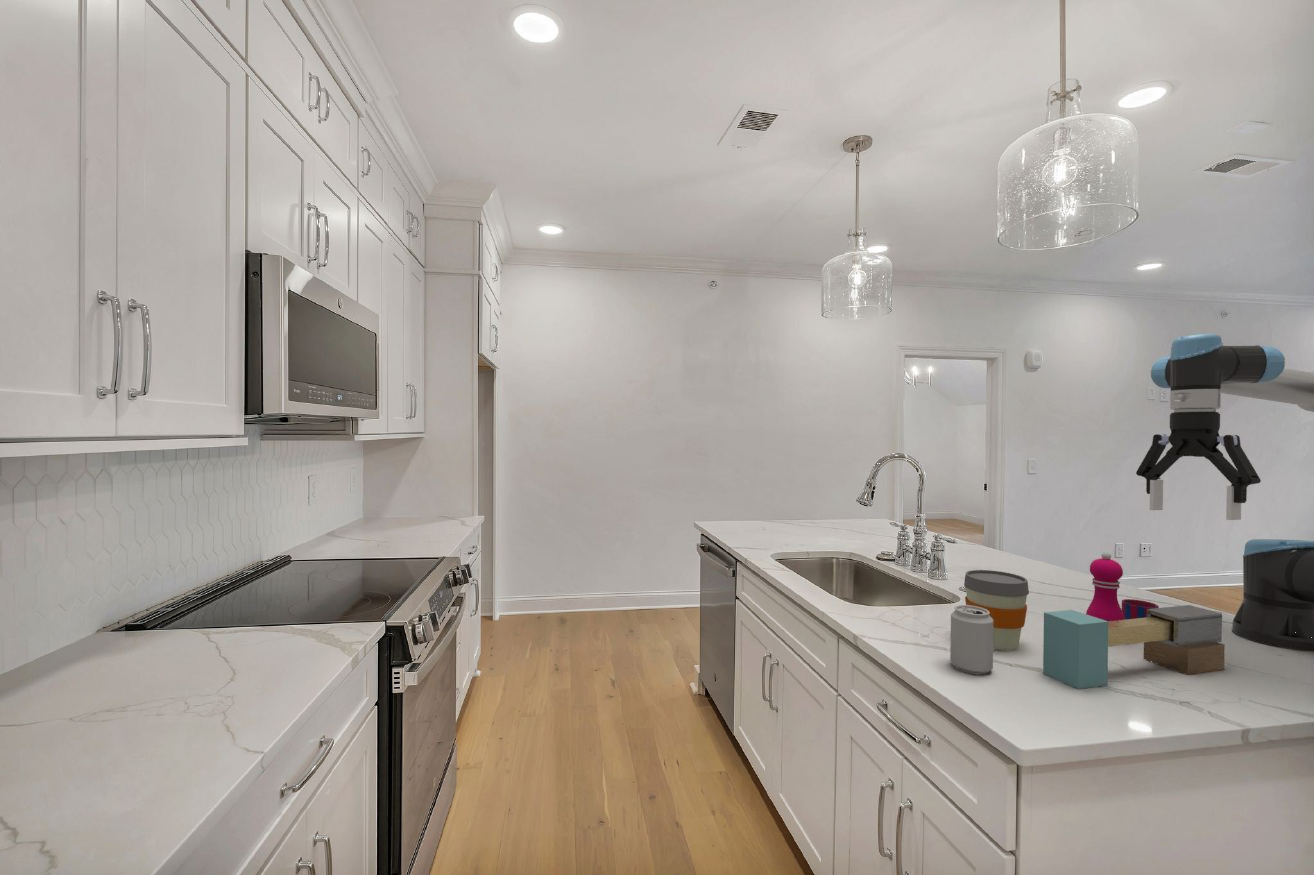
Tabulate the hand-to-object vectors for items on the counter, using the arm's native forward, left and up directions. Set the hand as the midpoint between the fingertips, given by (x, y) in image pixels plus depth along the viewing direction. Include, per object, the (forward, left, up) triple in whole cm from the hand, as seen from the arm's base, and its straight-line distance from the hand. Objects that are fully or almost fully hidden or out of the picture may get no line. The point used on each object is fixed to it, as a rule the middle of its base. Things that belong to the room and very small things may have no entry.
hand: (1192, 514), depth 117 cm
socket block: (+30, 0, -31) cm, 43 cm away
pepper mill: (+3, -15, -31) cm, 34 cm away
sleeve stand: (+2, 0, -31) cm, 31 cm away
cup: (-10, -15, -31) cm, 36 cm away
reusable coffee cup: (+30, -19, -31) cm, 47 cm away
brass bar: (+17, 0, -24) cm, 30 cm away
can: (+46, -9, -31) cm, 56 cm away
